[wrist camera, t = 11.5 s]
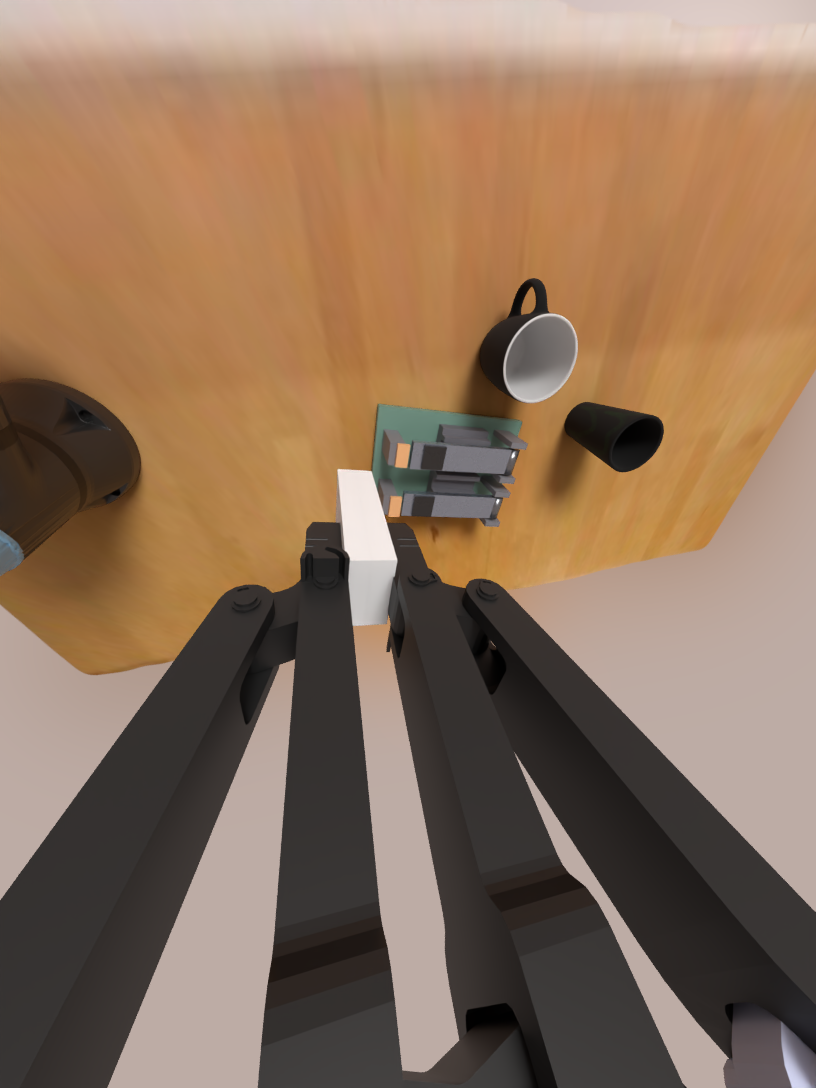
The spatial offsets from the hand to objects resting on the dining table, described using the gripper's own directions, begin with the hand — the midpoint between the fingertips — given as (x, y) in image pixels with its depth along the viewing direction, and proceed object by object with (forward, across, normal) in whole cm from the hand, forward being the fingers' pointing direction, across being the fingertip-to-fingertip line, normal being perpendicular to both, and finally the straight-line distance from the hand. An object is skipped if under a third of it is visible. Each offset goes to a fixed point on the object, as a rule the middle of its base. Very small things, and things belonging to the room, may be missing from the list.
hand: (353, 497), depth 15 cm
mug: (+35, +22, +7) cm, 42 cm away
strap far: (+29, +18, -15) cm, 37 cm away
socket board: (+34, +17, -11) cm, 40 cm away
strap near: (+29, +18, -7) cm, 35 cm away
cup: (+35, +39, -2) cm, 52 cm away
